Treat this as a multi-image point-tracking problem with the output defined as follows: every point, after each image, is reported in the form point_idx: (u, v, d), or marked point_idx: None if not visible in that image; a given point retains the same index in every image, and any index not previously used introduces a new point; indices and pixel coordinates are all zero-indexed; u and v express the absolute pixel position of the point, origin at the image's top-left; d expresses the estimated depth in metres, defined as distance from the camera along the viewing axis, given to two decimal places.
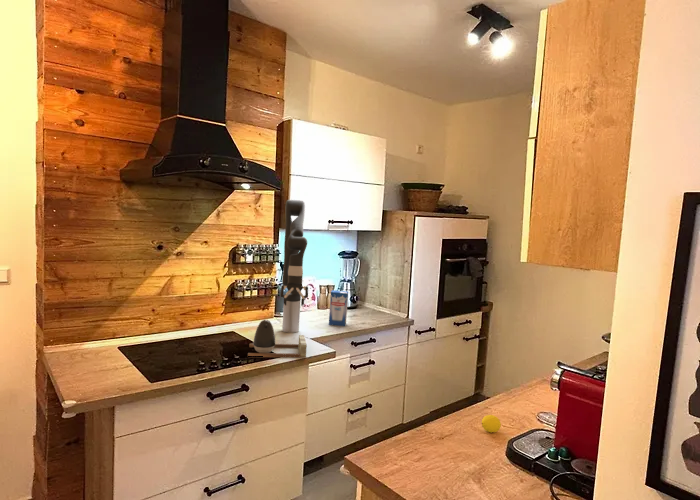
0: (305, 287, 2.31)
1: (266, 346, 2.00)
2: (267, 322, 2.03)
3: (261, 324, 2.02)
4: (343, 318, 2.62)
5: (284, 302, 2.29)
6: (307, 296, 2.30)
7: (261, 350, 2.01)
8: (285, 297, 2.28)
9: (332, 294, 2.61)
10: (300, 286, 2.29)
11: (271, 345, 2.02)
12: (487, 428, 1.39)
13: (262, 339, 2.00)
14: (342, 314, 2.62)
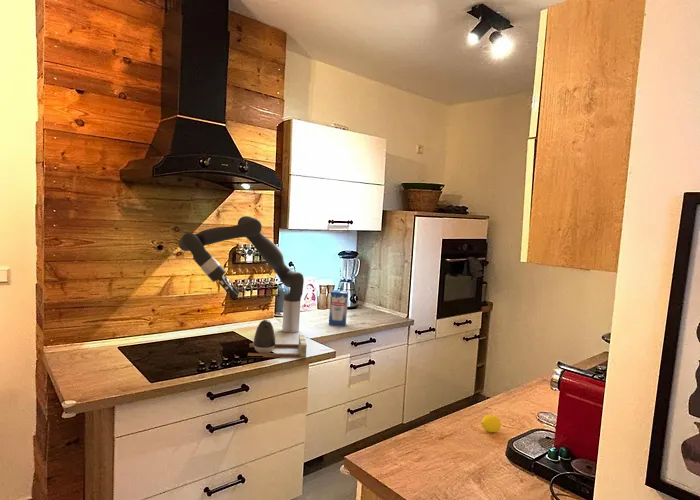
0: None
1: (266, 346, 2.00)
2: (267, 322, 2.03)
3: (261, 324, 2.02)
4: (343, 318, 2.62)
5: None
6: (226, 291, 1.96)
7: (261, 350, 2.01)
8: None
9: (332, 294, 2.61)
10: (219, 281, 1.99)
11: (271, 345, 2.02)
12: (487, 428, 1.39)
13: (262, 339, 2.00)
14: (342, 314, 2.62)
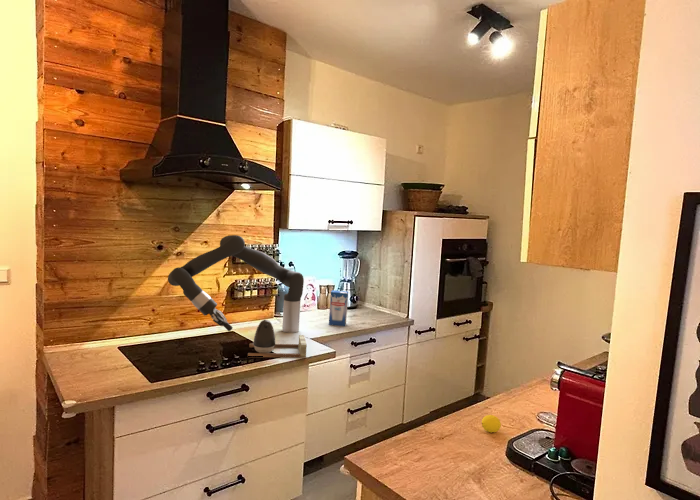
0: None
1: (266, 346, 2.00)
2: (267, 322, 2.03)
3: (261, 324, 2.02)
4: (343, 318, 2.62)
5: None
6: None
7: (261, 350, 2.01)
8: None
9: (332, 294, 2.61)
10: None
11: (271, 345, 2.02)
12: (487, 428, 1.39)
13: (262, 339, 2.00)
14: (342, 314, 2.62)
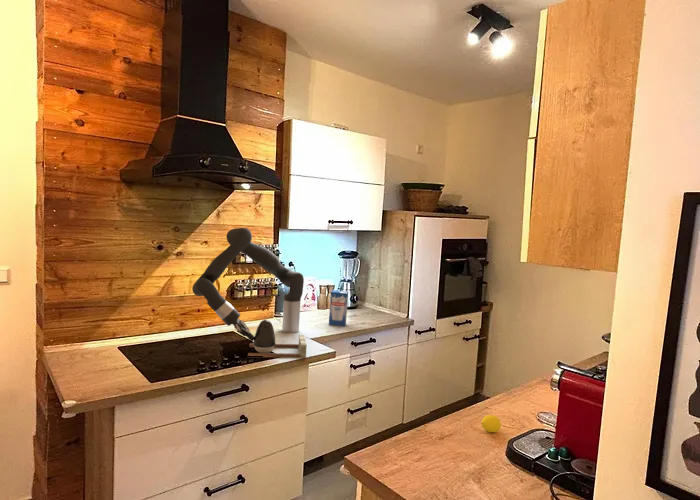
0: (238, 329, 1.97)
1: (266, 346, 2.00)
2: (267, 322, 2.03)
3: (261, 324, 2.02)
4: (343, 318, 2.62)
5: None
6: (243, 335, 2.00)
7: (261, 350, 2.01)
8: None
9: (332, 294, 2.61)
10: None
11: (271, 345, 2.02)
12: (487, 428, 1.39)
13: (262, 339, 2.00)
14: (342, 314, 2.62)
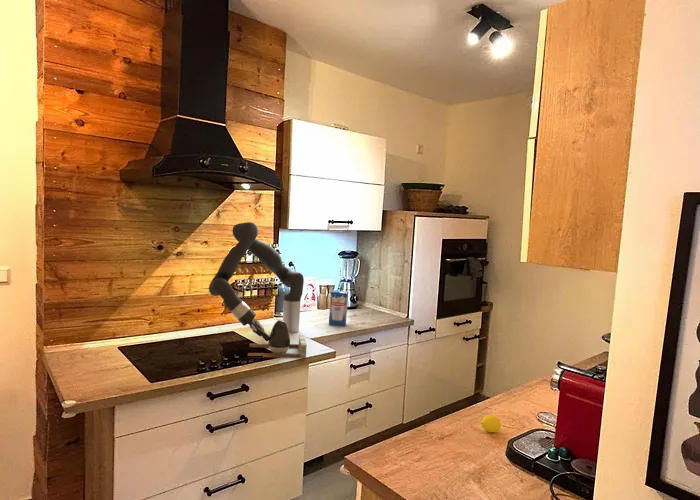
0: None
1: (280, 346, 2.01)
2: (282, 322, 2.04)
3: (276, 324, 2.03)
4: (343, 318, 2.62)
5: None
6: (259, 335, 2.01)
7: (275, 350, 2.02)
8: None
9: (332, 294, 2.61)
10: None
11: (285, 346, 2.02)
12: (487, 428, 1.39)
13: (277, 339, 2.01)
14: (342, 314, 2.62)
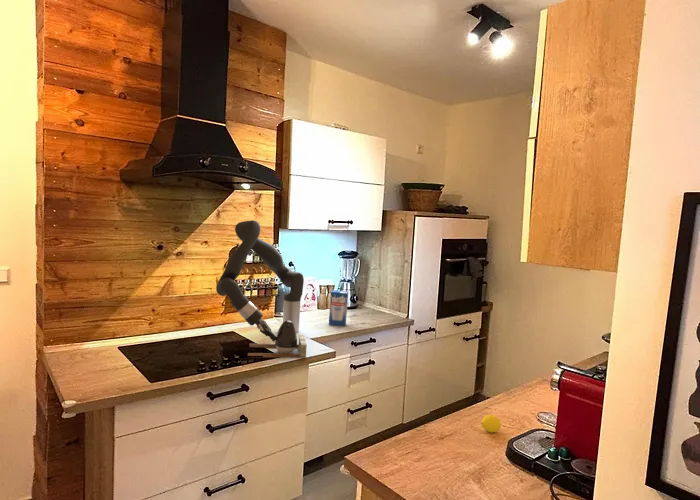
0: (261, 329, 1.99)
1: (287, 346, 2.01)
2: (289, 323, 2.04)
3: (283, 324, 2.04)
4: (343, 318, 2.62)
5: None
6: (266, 335, 2.02)
7: (282, 350, 2.02)
8: None
9: (332, 294, 2.61)
10: (257, 325, 2.00)
11: (292, 346, 2.03)
12: (487, 428, 1.39)
13: (284, 339, 2.01)
14: (342, 314, 2.62)
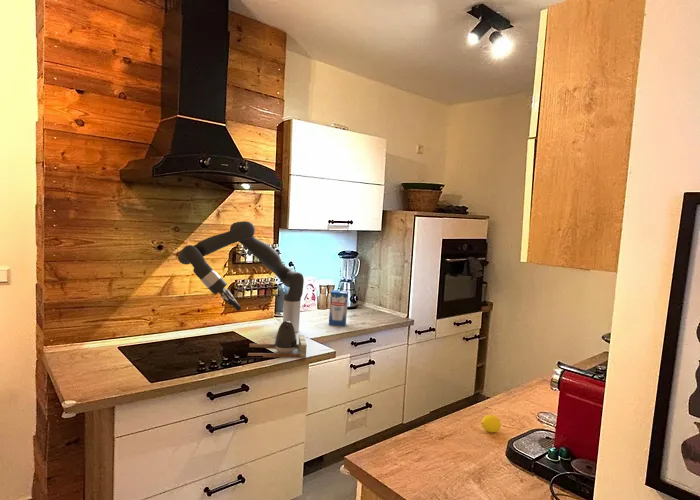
0: None
1: (287, 347, 2.01)
2: (288, 323, 2.04)
3: (282, 325, 2.03)
4: (343, 318, 2.62)
5: None
6: (230, 304, 1.98)
7: (282, 351, 2.02)
8: None
9: (332, 294, 2.61)
10: (220, 294, 1.96)
11: (292, 346, 2.03)
12: (487, 428, 1.39)
13: (284, 340, 2.01)
14: (342, 314, 2.62)
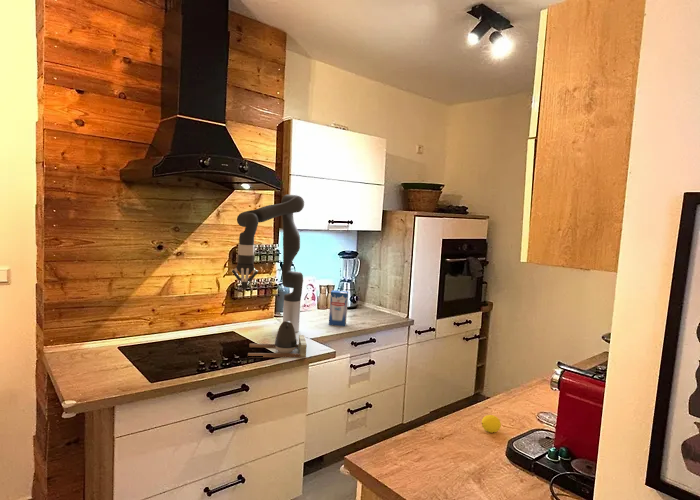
0: (255, 271, 2.13)
1: (287, 347, 2.01)
2: (288, 323, 2.04)
3: (282, 325, 2.03)
4: (343, 318, 2.62)
5: (242, 286, 2.12)
6: (250, 279, 2.12)
7: (282, 351, 2.02)
8: (243, 281, 2.12)
9: (332, 294, 2.61)
10: (252, 266, 2.12)
11: (292, 346, 2.03)
12: (487, 428, 1.39)
13: (284, 340, 2.01)
14: (342, 314, 2.62)
